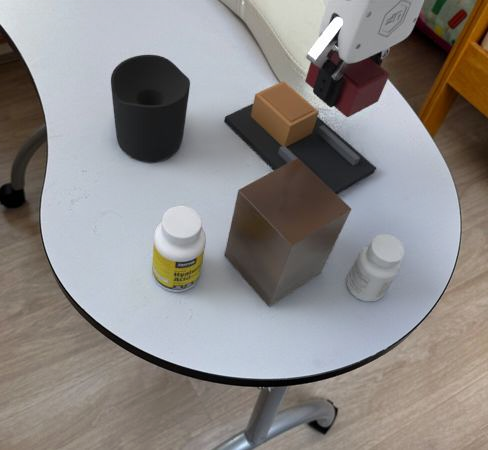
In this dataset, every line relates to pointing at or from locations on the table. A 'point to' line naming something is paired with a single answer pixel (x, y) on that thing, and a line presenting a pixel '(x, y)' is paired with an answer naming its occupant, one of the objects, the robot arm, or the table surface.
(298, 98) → the small orange-brown block
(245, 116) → the base mat
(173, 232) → the supplement bottle
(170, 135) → the pen holder
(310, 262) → the tall brown block
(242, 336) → the table surface
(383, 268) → the pill bottle
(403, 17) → the robot arm
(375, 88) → the red lidded box
